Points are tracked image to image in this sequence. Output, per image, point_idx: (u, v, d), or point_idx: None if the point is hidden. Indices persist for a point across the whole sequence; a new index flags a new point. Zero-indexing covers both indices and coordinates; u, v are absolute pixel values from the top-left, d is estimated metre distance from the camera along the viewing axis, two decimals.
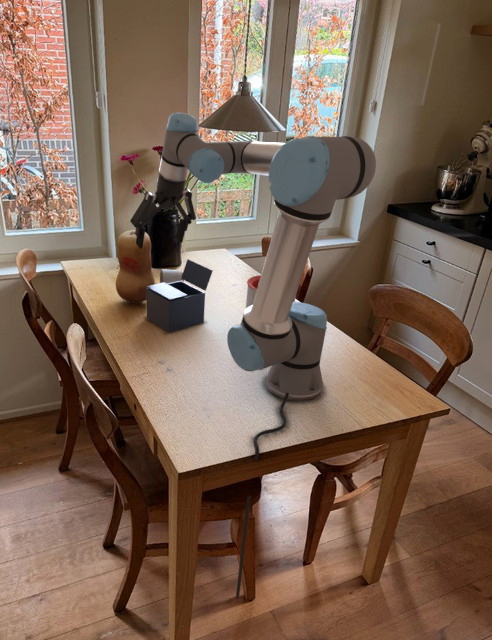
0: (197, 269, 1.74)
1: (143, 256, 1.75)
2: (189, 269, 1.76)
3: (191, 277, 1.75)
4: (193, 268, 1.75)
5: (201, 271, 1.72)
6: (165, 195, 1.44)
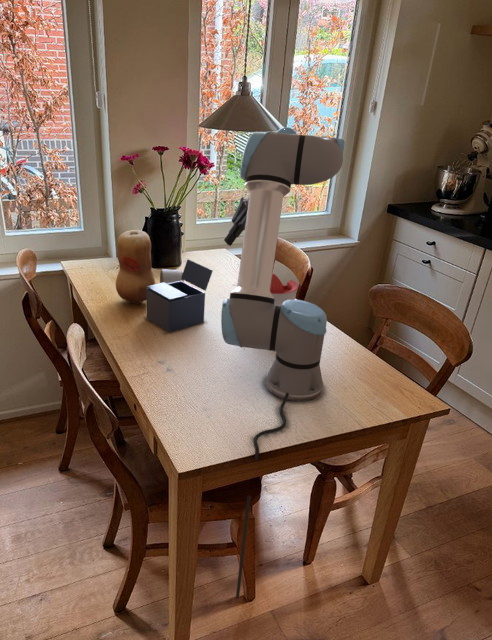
0: (197, 269, 1.74)
1: (143, 256, 1.75)
2: (189, 269, 1.76)
3: (191, 277, 1.75)
4: (193, 268, 1.75)
5: (201, 271, 1.72)
6: None
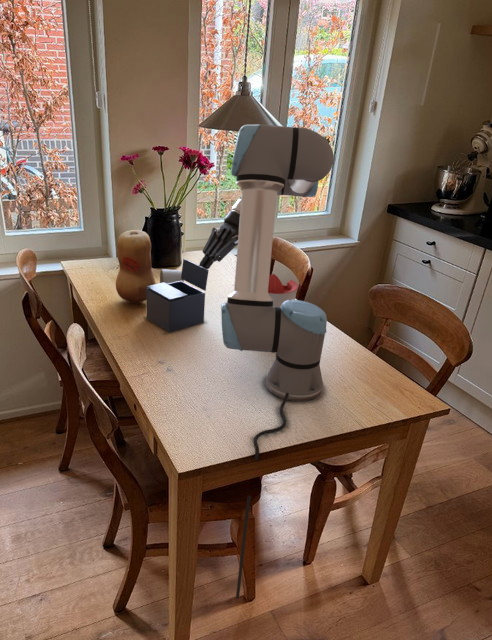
0: (194, 269, 1.73)
1: (143, 256, 1.75)
2: (186, 269, 1.76)
3: (190, 277, 1.75)
4: (190, 268, 1.74)
5: (198, 271, 1.71)
6: (225, 226, 1.76)
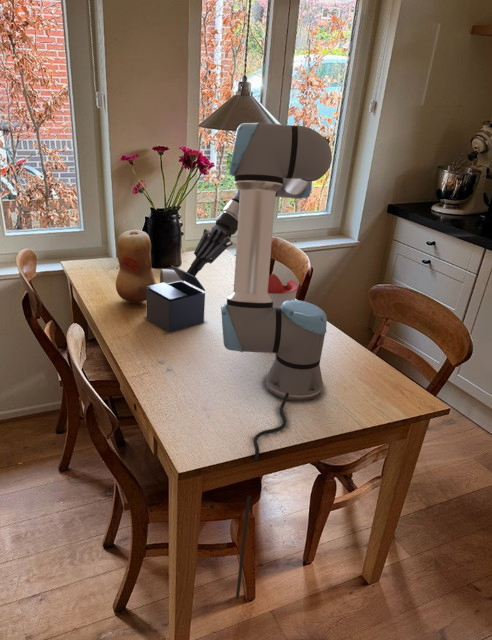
0: (184, 275, 1.71)
1: (143, 256, 1.75)
2: (179, 273, 1.74)
3: (186, 279, 1.75)
4: (181, 273, 1.73)
5: (188, 277, 1.70)
6: (217, 227, 1.74)
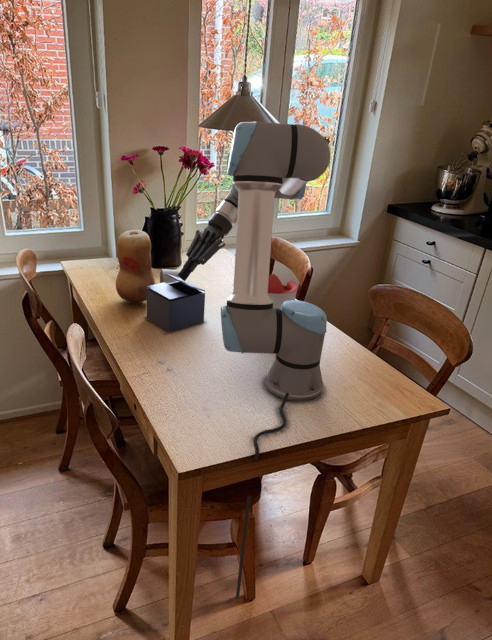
0: (181, 281, 1.71)
1: (143, 256, 1.75)
2: None
3: (185, 282, 1.75)
4: None
5: (185, 283, 1.70)
6: (209, 228, 1.72)
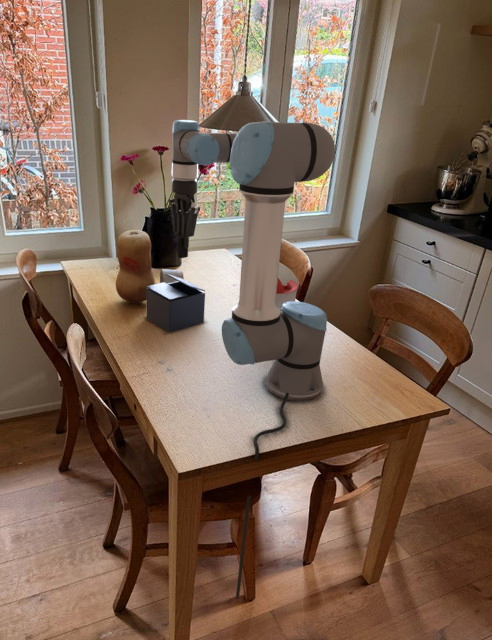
0: (181, 281, 1.71)
1: (143, 256, 1.75)
2: None
3: (185, 282, 1.75)
4: None
5: (185, 283, 1.70)
6: (177, 195, 1.59)
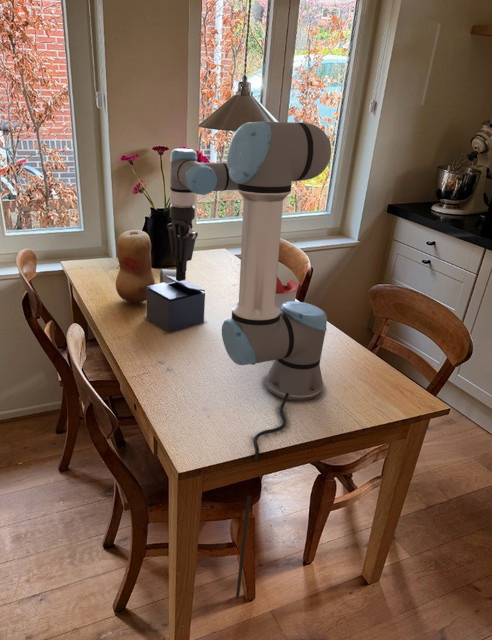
0: (180, 283, 1.72)
1: (143, 256, 1.75)
2: None
3: (185, 283, 1.75)
4: None
5: (184, 285, 1.70)
6: (175, 221, 1.62)
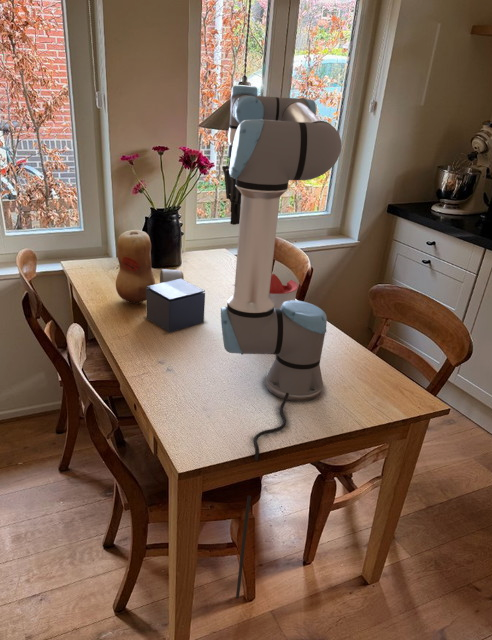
0: None
1: (143, 256, 1.75)
2: None
3: None
4: None
5: None
6: None
